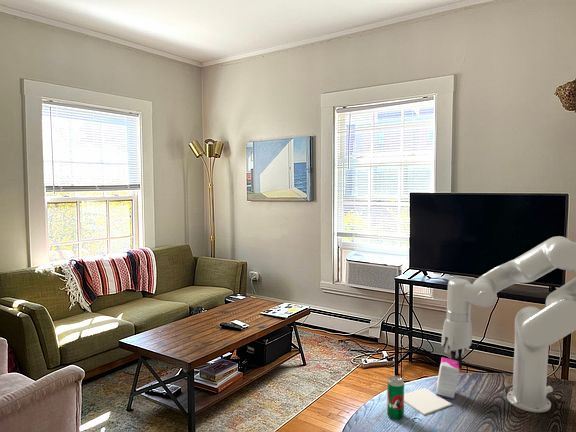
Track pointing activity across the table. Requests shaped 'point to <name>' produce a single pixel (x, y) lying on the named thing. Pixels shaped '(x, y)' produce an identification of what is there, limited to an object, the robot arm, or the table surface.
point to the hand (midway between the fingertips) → (456, 367)
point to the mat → (425, 401)
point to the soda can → (395, 398)
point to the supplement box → (447, 378)
